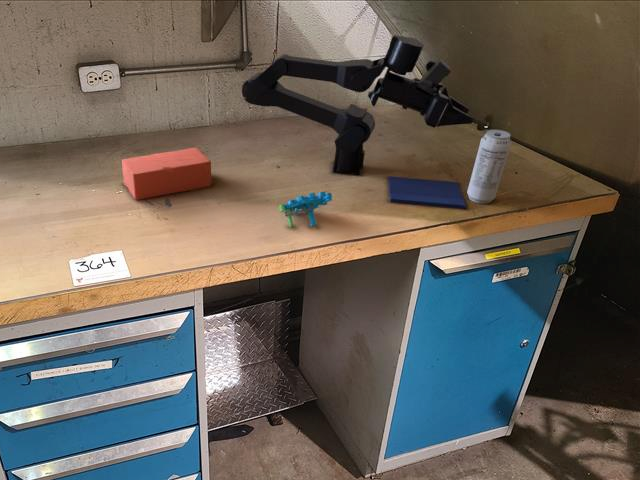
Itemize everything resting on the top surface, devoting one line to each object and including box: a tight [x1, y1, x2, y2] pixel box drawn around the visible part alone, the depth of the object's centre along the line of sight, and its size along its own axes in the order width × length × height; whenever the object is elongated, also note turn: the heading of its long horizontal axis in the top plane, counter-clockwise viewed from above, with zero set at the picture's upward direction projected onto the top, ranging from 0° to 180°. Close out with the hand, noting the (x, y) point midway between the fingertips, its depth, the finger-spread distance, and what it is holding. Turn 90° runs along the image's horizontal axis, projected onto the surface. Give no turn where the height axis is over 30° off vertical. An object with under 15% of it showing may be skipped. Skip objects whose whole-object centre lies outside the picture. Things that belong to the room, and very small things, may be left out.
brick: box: [121, 147, 212, 201], centre depth 135 cm, size 18×9×6 cm, turn 116°
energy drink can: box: [466, 129, 512, 205], centre depth 130 cm, size 6×6×15 cm
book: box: [388, 175, 467, 210], centre depth 136 cm, size 16×13×1 cm
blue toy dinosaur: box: [279, 191, 333, 228], centre depth 122 cm, size 11×6×10 cm
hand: (470, 116), depth 132 cm, fingers open, 9 cm apart
